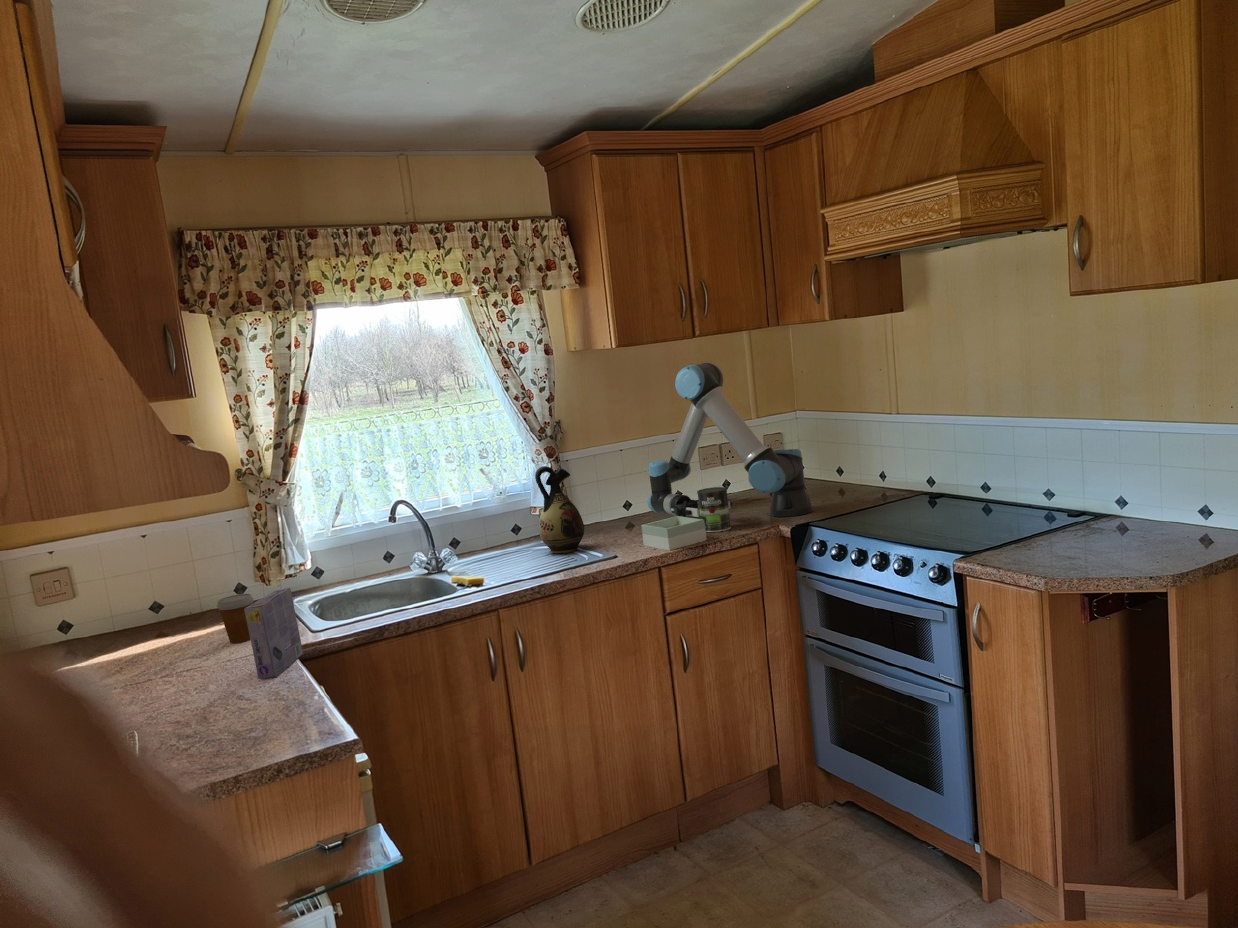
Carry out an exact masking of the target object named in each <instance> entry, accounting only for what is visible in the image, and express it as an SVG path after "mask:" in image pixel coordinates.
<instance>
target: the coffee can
mask: <svg viewBox="0 0 1238 928" xmlns="http://www.w3.org/2000/svg"><path fill="white" fill-rule="evenodd" d="M696 494H697V500H698V501H699V505H698V508H699V509H700V510H699V516H700V518H699V519H704V524H705V532H716V533H718V532H717V531H723V532H727V531H729V529H730V530H731V529H732V525H731V519H730V518H731V517H730V516H731V515H730V509H729V506H728V501H729V500H728V488H727V487H724V486H718V487H716V486H714V487H707V488H701V489H698V490H697V491H696Z"/></svg>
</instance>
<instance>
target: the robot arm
mask: <svg viewBox="0 0 1238 928" xmlns="http://www.w3.org/2000/svg"><path fill="white" fill-rule="evenodd" d="M674 386H675V391H676V392H677V394H678V395H679V397H681V398H682V399H684V400H686V401H687V400H688V401H690V402H691V404H690V406H689V409H688V410H687V411H688V412H687V415H686V417H685V419H684V422H683V425H682V428H681V430H680V432H679V435H678V438H677V439H676V443H675V446H674V448H673V451H672V454H671V456H670V459H669V461H667V460H665V459H664V460H656V461H655V460H654V461H652V462H650V463H649V464H648V475H649V483H650V489H651V494H650V495H649V496H648V499H647V507H648V508H649V510H651V511H653V512H655V513H658V514H668V515H673V517H676V516H681V517H688V516H689V517H693V518H694V517H695V518H699V517H700V509H699V501H698V499H691V498H690V496H688V495H686V494H679V493H678V494H676V493H673V491H672V490H673V488H672V484H673V483H676V482H678V481H682V480H684V479H686V478H687V477H688V476H689V475H690V474H691V471H692V470H691V469H692V468H691V465H690V464H691V460H692V458H693V456H694V454H695V451H696V448H697V446H698V443H699V441H700V438H701V436H702V433H703V431H704V429H705V426H706V423H707V420H708V418H709V419H710V421H712V423H713V424H714V425H715V427H716V428H717V429H718V431H720V433H721V434H722V435H723V436H724V438H725V439H726V440H727V441H728V443H729V444H730V445H731V447H733V449H734V451H735V452H736V453H737V454H738V455H739V456H740V458H741V459H742V461H744V462H743V463H744V464H743V465H744V466H743V468H744V470H745V471H746V472H747V475H748V477H747V479H748V483H750V485H751V487H752V488H753V489H754V490H755V491H757V492H759V493H763V494H771V493H772V495H771V501H770V506H769V515H770V516H772V517H783V518H785V517H795V516H796V517H797V516H803V515H807V514H809V513H811V512H813V504H812V502H811V499H810V497H809V495H808V492H807V490H806V483H805V482H806V481H805V474H804V465H803V463H804V462H803V456H802V451H801V450H800V449H799V448H792V449H789V448H788V449H775V450H774V449H773V448H772V447H771V446H766V445H764V444H763V443H762V442H761V441H760V439H759V438H758V436H756V434H755V433H754V432H753V431H752V430H751V428H750V427H749V426H748V425H747V423H746V422H745V421H744V419H743V418H742V417H741V416H740V415H739V413H738V412H737V411H736V410H735V409H734V407H733V406H732V405H731V404H730V402H729V401H728V399H726V397H725V396H724V395H723V393H722V392H723V386H724V375H723V372H722V370H721V369H720V368H719V367H718V365H716V364H713V363H711V362H702V363H699V364H690V365H687V366H685V367H683V368H681V369H680V370H679V371H678V373H677V375H676V377H675V381H674ZM728 506H729V510H730V509H731V508H732V507H731V501H730V500H728Z"/></svg>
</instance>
